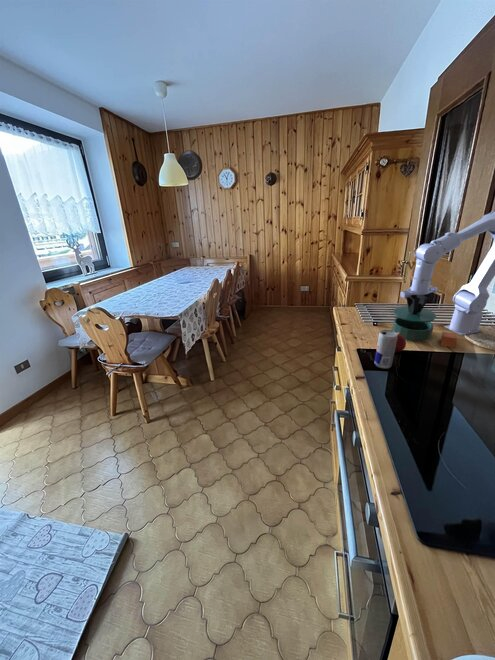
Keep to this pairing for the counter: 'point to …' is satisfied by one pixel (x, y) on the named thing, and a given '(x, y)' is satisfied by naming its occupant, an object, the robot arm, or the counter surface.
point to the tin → (413, 334)
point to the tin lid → (416, 317)
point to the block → (448, 339)
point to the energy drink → (385, 349)
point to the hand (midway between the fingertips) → (414, 312)
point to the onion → (400, 343)
